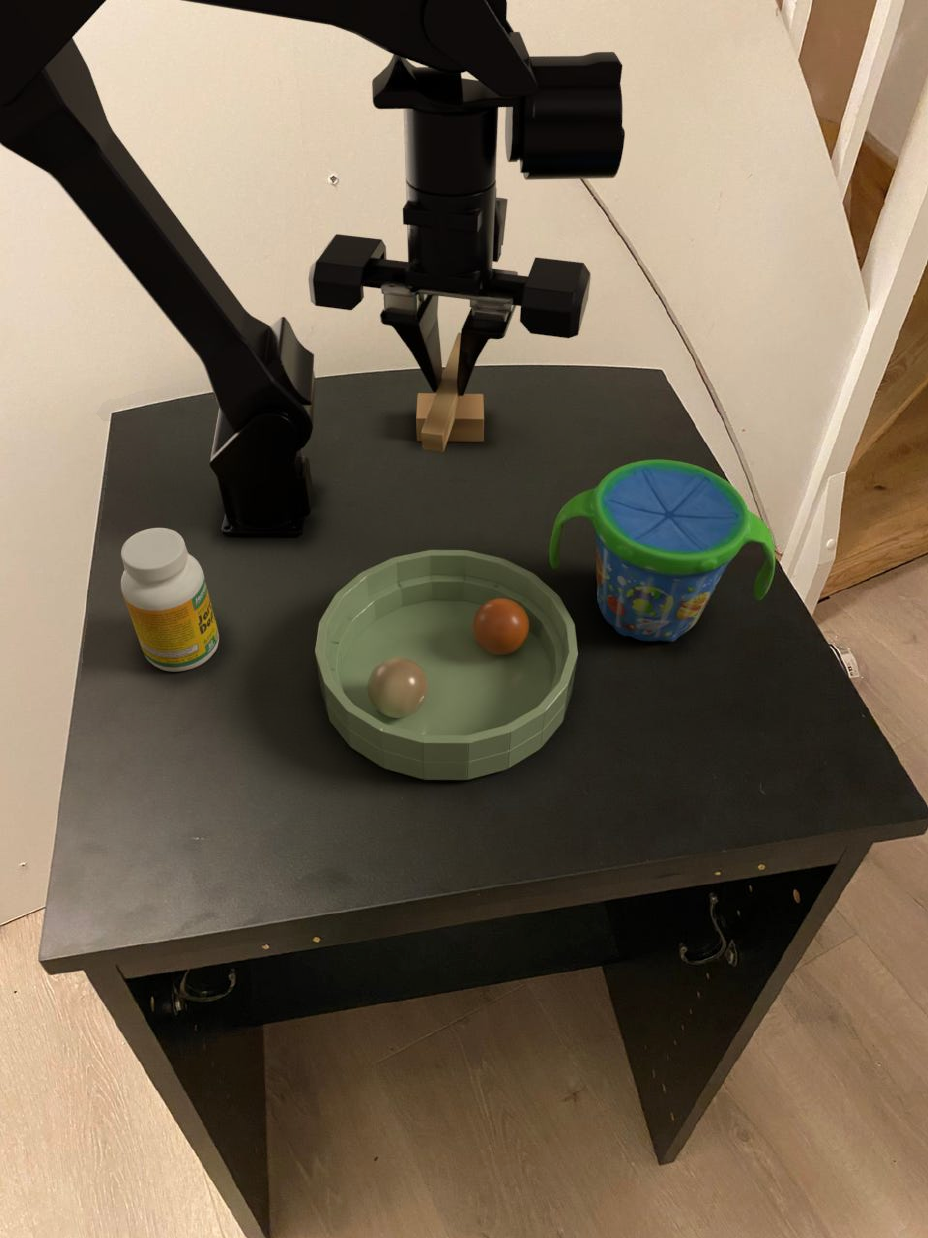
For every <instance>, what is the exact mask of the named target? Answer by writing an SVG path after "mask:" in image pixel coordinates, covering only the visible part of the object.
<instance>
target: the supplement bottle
mask: <svg viewBox="0 0 928 1238" xmlns="http://www.w3.org/2000/svg"><path fill="white" fill-rule="evenodd" d="M120 558H121V561H122V564H123V568H124V570H123V573H122V575H121V579H120V589H121V590H120V591H121V593H122V596H123V600H124V602H125V605H126V607H127V610H128V613H129V615H130V618H131V621H132V624H133V627H134V630H135V633H136V636H137V639H138V641H139V644H140V648H141V650H142V652H143V655H144V657H145V659H146V660H147V661H148V662H149V663H150V664H152V665H153V666H154V667H156V668H158V669H160V670H162V671H166V672H173V673H175V672H176V673H177V672H185V671H190V670H192V669H195V668H198V667H199V666H201V665H203V664H204V663H206V662H207V661H208V660H209V659H211V657H212V656H213V655H214V653H215V652H216V651H217V649H218V647H219V641H220V633H219V628H218V625H217V621H216V617H215V613H214V609H213V606H212V602H211V598H210V594H209V590H208V586H207V583H206V582H207V581H206V579H205V574H204V571H203V568H202V565H201V564H200V562H199V561H198V560H197V559H196V558H195V557H194V556H193V555H192V554H190V553H189V552H188V549H187V546H186V543H185V540H184V538H183V537H182V535H181V534H180V533H178V532H177V531H176V530H174V529H170V528H165V527H151V528H147V529H144V530H141V531H138V532H136V533H135V534H133V535H131V536H130V537H129V538H128V539H127V540H126V541H125V542H124V543H123V545H122V546H121V550H120Z"/></svg>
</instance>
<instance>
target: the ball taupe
mask: <svg viewBox="0 0 928 1238" xmlns="http://www.w3.org/2000/svg"><path fill="white" fill-rule="evenodd" d="M368 695H369V698H370V701H371V702H372V704H373V706H374V707H375V708H376V709H377V710H378V711H379V712H381V713H382V714H384V715H386V716H389V717H393V718H403V717H407V716H410V715H412V714H414V713H415V712H417V711H418V710H419V709H420V708H421V707H422V705H423V704H424V702H425V700H426V698H427V695H428V680H427V677H426V674H425V672H424V671H423V669H422V668H421V667H420V666H419V665H418V664H417V663H415V662H414V661H412V660H410V659H407V658H403V657H393V658H389V659H386V660H384V661H382V662H381V663H379V664H378V665H377V666H376V667H375V668H374V670H373V671H372V673H371V675H370V677H369V680H368Z"/></svg>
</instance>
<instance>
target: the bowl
mask: <svg viewBox="0 0 928 1238" xmlns="http://www.w3.org/2000/svg"><path fill="white" fill-rule="evenodd" d="M496 598H506V599H510V600H513V601H515V602H516V603H518V604H519V605H520V606H521V607H522V608H523V609H524V610H525V612H526V614H527V616H528V619H529V634H528V637H527V639H526V641H525V643H524V644H523V645H522V646H521V647H520V648H519V649H518V650H516V651H515V652H513V653H510V654H506V655H495V654H492V653H489V652H487V651H485V650H484V649H483V648H482V647H481V646H480V645H479V644H478V643H477V641H476V640H475V637H474V634H473V629H472V624H473V619H474V616H475V614H476V612H477V610H478V609H479V608H480V607H481V606H482V605H483V604H484V603H486V602H487V601H489V600H492V599H496ZM577 641H578V640H577V633H576V624H575V622H574V620H573V618H572V617H571V614H570V613H569V611H568V610H567V608H566V606H565V604H564V602H563V600H562V598H561V597H560V596H559V594H557V593H556V592H555V591H554V590H553V589H552V588H551V587H550V586H549V585H547V584H546V582H544V581H543V580H542V579H541V578H540V577H538V576H537V574H535V573H533V572H532V571H529V570H527V569H525V568H523V567H522V566H520V565H517V564H515V563H514V562H511V561H509V560H507V559H505V558H502V557H498V556H494V555H490V554H485V553H480V552H477V551H473V550H467V549H427V550H423V551H417V552H413V553H408V554H407V553H406V554H403V555H398V556H394V557H391V558H388V559H387V560H385V561H383V562H381V563H379V564H378V563H377V564H376V565H374V566H371V567H369V568H367V569H365V570H363V571H361V572H359V574H357V575H356V576H355V577H354V578H352V579H351V580H350V581H349V582H348V583H347V584H346V585H344V586H343V587H342V588H341V589H340V590H338V591H337V592H336V593H335V594H334V596H333V598H332V599H331V601H330V603H329V605H328V606H327V608H326V609H325V611H324V612H323V615H322V616H321V618H320V620H319V622H318V628H317V636H316V642H315V649H314V655H315V660H316V668H317V674H318V680H319V686H320V692H321V696H322V700H323V702H324V706H325V710H326V713H327V717H328V720H329V722H330V723H331V724H332V726H333V727H334V728H335V729H336V731H337V732H338V733H339V734H340V736H341V737H342V738H343V739H344V741H345V743H347V744H348V746H349V747H350V748H351V749H353V750H354V751H356V752H357V753H359V754H361V755H362V756H364V757H365V758H366V759H368V760H370V761H371V762H373V763H375V764H376V765H378V766H379V767H380V768H382V769H385V770H388V771H391V772H394V773H395V772H396V773H398V774H402V775H405V776H406V775H407V776H409V777H413V778H416V779H420V780H424V781H468V780H473V779H476V778H480V777H485V776H487V775H491V774H495V773H499V772H502V771H506V770H508V769H511V768H512V767H513V766H515V765H517V764H518V763H520V762H522V761H523V760H525V759H526V758H528V757H529V756H531V755H533V754H535V753H536V752H538V751H539V750H540V749H542V748H543V747H544V745H545V744H546V743H547V742H548V740H549V739H550V738H551V737H552V736H553V734H554V733H555V732H556V730H558V728H559V727H560V726H561V724H562V723H563V722H564V719H565V716H566V713H567V710H568V707H569V704H570V701H571V697H572V693H573V689H574V682H575V676H576V671H577V670H576V669H577V663H578V656H579V651H578V650H579V649H578V642H577ZM393 657H403V658H407V659H410V660H412V661H414V662H415V663H417V664H418V665H419V666H420V667H421V668H422V669H423V671H424V672H425V674H426V677H427V680H428V695H427V698H426V700H425V702H424V704H423V705H422V707H421V708H420V709H419V710H418V711H417V712H415V713H414V714H412V715H410V716H407V717H403V718H393V717H389V716H386V715H384V714H382V713H381V712H379V711H378V710H377V709H376V708H375V707H374V706H373V704H372V702H371V701H370V698H369V695H368V680H369V677H370V675H371V673H372V671H373V670H374V668H375V667H376V666H377V665H378V664H379V663H381V662H382V661H384V660H386V659H389V658H393Z"/></svg>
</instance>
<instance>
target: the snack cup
mask: <svg viewBox="0 0 928 1238" xmlns="http://www.w3.org/2000/svg"><path fill="white" fill-rule="evenodd" d="M581 517H583V518H586V519H587V520H589V521H590V522H591V524H592V526H593V527H594V530H595V532H596V535H595V537H596V538H595V543H596V546H595V548H596V549H595V550H596V551H595V552H596V554H595V555H596V557H595V559H596V583H597V585H596V586H597V589H596V590H597V591H596V595H597V598H596V599H597V604H598V606H599V609H600V612H601V614H602V617H603V618H604V619H605V621H606V622H607V623H608V624H609V625H611V626H612V627H613V629H614V630H615V632H616V633H618V634H619V635H621V636H623V637H631V638H633V639H636V640H638V641H641V642H660V641H661V642H668V643H669V642H671V643H673V642H675V641H676V640H677V639H679V637H681V636H683V635H684V634H686V633H687V632H689V631H690V630H691V629H692V628H693V627H694V626H695V625H696V624H697V622H698V621H699V620H700V618H701V616H702V613H703V611H704V610H705V608H706V606H707V604H708V602H709V600H710V598H711V596H712V595H713V593H714V592H715V590H716V588H717V584H718V583H719V582H720V579H721V578H722V576H723V573H724V572H725V570H726V568H727V566H728V565H730V562H731V561H732V560H733V559H734V558H735V557H736V555H737V554H738V553H739V552H740V550H741V548H743V547H744V546H745V545H746V544H749V543H757V544H759V545H760V547H761V550H762V551H763V554H764V556H765V557H766V559H765V561H764V563H763V566H762V567H761V569H760V570H759V571H758V573H757V574H756V578H755V580H754V585H753V598H754V600H756V601H758V602H759V601H760V602H761V601H762V600H763V598H764V597H765V596H766V595H767V594H768V591H769V589H770V587H771V585H772V583H773V580H774V576H775V570H776V569H775V568H776V552H775V551H776V546H775V541H774V538H773V535H772V533H771V530H770V529H769V527H768V525H767V524H766V523H765V522H764V521H763V520H762V519H761V517H759V516H758V515H756V514H755V513H753V512H752V511H751V510H749V508H748V505H747V504H746V501H745V499H744V497H743V496H742V495H741V493H740V492H739V491H738V490H737V488H735V487H734V486H733V484H731V483H730V482H728V481H727V480H726V479H724V478H722V476H719V475H718V474H716V473H714V472H712V471H710V470H707V469H706V468H703V467H701V466H698V465H695V464H691V463H689V462H684V461H678V460H670V459H645V460H639V461H635V462H631V463H628V464H624V465H622V466H619V467H617V468H615V469H613V470H612V471H610V472H609V473H608V474H606V475H605V476H604V477H603V479H602V480H601V481H600V482H599V483H598V484H597V486H595V487H593V488H592V489H591V488H590V489H588V490H585V491H583V492H581V493H578V494H577V495H575V496H573V497H572V498H571V499H569V500H568V501H567V502H566V503H565V504H564V505H563V506H562V507H561V509H560V511H559V512H558V513H557V516H556V518H555V520H554V522H553V527H552V533H551V537H550V543H549V552H548V553H549V554H548V555H549V564H550V568H551V569H552V570H554V571H556V570H557V569H558V568H559V566H560V559H561V538H562V534H563V527H564V524H565V523H567V522H569V521H571V520H573V519H576V518H581Z"/></svg>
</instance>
